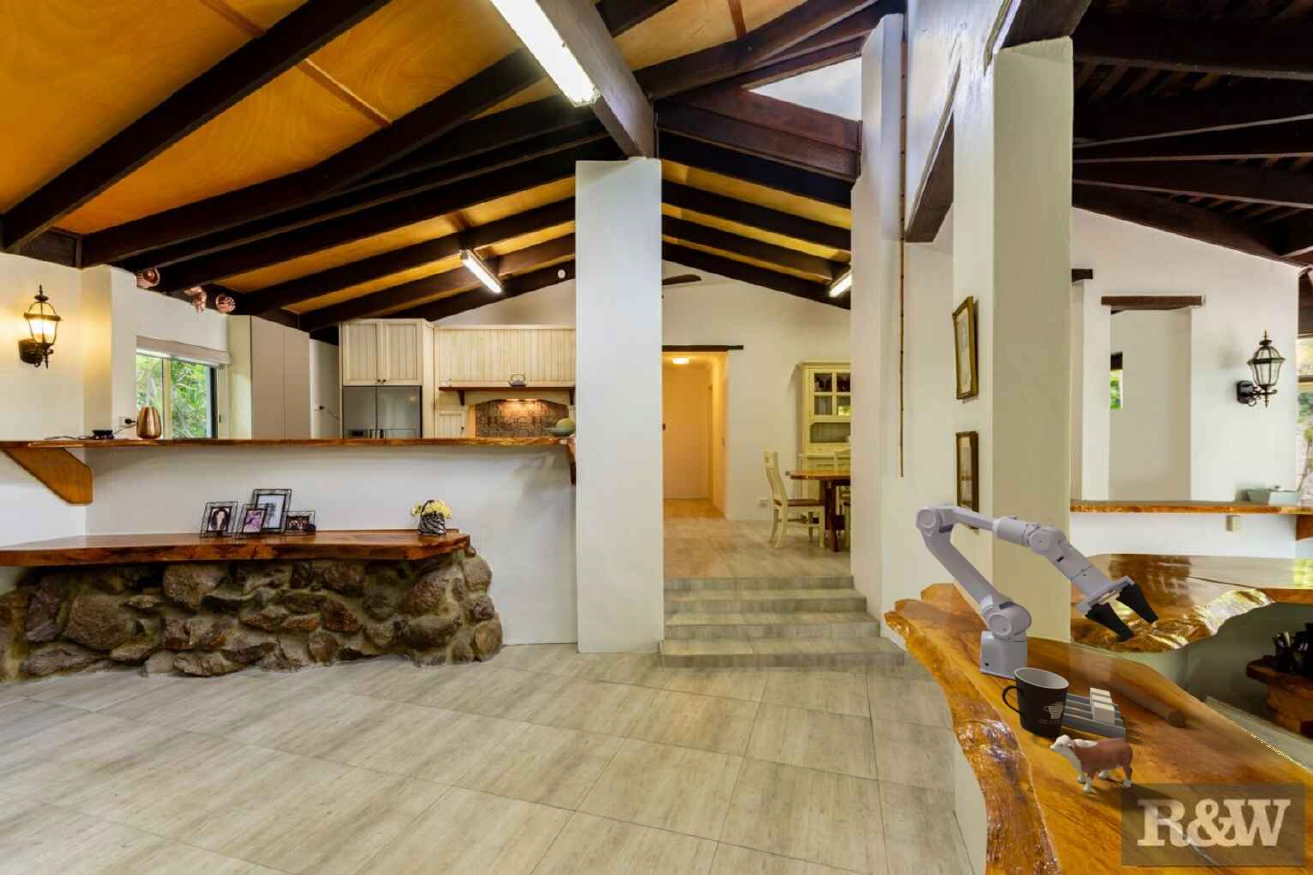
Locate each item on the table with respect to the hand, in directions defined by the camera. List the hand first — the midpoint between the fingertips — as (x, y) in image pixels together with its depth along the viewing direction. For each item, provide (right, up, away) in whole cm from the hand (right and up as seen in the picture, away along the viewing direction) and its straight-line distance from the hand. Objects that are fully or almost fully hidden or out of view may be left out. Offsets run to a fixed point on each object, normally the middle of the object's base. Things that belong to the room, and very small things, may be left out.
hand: (1142, 629), depth 109 cm
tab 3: (-11, -17, -4) cm, 21 cm away
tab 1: (-7, -17, +1) cm, 18 cm away
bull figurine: (-26, -19, -20) cm, 38 cm away
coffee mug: (-25, -18, -3) cm, 31 cm away
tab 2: (-9, -17, -1) cm, 19 cm away
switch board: (-11, -18, 0) cm, 21 cm away
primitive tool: (+5, -19, +7) cm, 21 cm away
